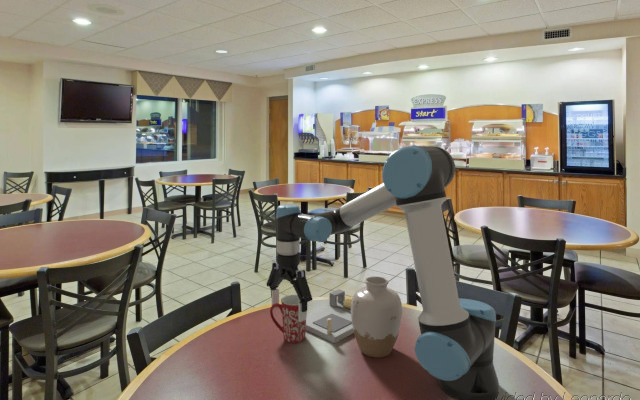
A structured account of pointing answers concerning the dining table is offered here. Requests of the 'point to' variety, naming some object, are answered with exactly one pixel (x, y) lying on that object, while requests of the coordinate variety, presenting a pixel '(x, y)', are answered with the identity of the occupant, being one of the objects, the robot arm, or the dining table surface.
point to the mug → (290, 319)
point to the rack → (331, 319)
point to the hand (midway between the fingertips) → (288, 313)
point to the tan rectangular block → (347, 304)
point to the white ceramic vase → (376, 317)
